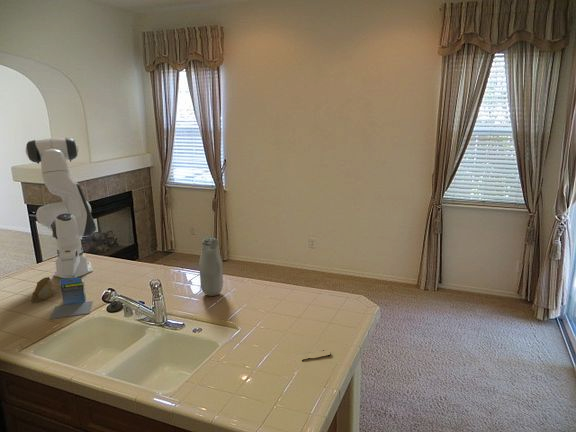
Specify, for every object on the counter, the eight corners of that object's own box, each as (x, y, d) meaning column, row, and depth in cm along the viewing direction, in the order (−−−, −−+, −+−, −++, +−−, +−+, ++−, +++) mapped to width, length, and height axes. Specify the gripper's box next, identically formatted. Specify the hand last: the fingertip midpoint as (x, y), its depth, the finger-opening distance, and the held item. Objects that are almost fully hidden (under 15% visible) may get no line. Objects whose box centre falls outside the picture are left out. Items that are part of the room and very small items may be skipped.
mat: (55, 306, 181) (55, 306, 181) (92, 301, 186) (92, 301, 186) (49, 319, 170) (49, 318, 170) (89, 313, 175) (89, 312, 175)
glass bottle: (197, 297, 190) (193, 239, 183) (209, 288, 199) (206, 233, 192) (215, 300, 186) (212, 241, 179) (227, 291, 195) (224, 235, 188)
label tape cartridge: (86, 298, 189) (83, 273, 186) (85, 302, 185) (81, 277, 182) (64, 301, 186) (61, 276, 183) (63, 305, 183) (59, 279, 180)
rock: (31, 301, 181) (56, 292, 187) (24, 284, 183) (49, 275, 189) (32, 307, 190) (55, 298, 196) (25, 290, 192) (49, 282, 197)
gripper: (66, 243, 194) (70, 271, 197) (58, 257, 175) (62, 287, 178) (81, 242, 196) (84, 269, 199) (74, 256, 177) (78, 285, 180)
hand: (74, 278), depth 189 cm, fingers closed
